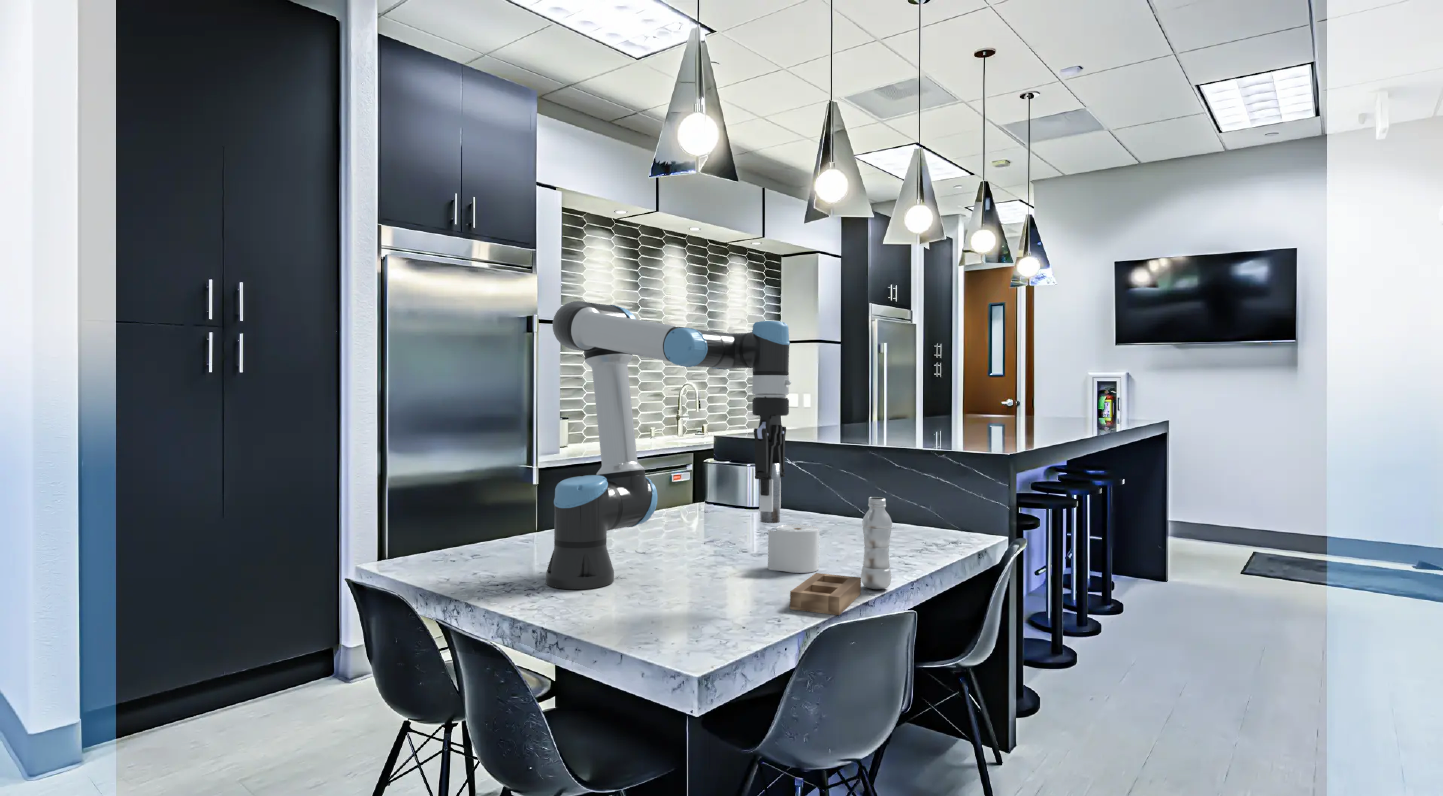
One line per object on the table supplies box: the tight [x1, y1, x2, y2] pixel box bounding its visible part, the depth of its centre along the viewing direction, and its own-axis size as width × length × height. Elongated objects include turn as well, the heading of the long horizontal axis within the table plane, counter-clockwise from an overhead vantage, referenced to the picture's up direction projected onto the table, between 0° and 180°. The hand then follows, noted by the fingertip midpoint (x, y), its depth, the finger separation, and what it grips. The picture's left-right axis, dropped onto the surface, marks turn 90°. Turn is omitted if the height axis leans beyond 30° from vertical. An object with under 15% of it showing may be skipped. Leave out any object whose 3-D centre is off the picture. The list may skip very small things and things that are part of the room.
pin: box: [759, 463, 781, 524], centre depth 160 cm, size 4×4×12 cm
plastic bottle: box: [860, 496, 893, 590], centre depth 172 cm, size 6×7×20 cm
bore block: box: [789, 572, 862, 616], centre depth 161 cm, size 10×18×4 cm, turn 157°
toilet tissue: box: [767, 523, 820, 574], centre depth 191 cm, size 11×12×10 cm
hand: (770, 509), depth 160 cm, fingers closed on pin, 4 cm apart
